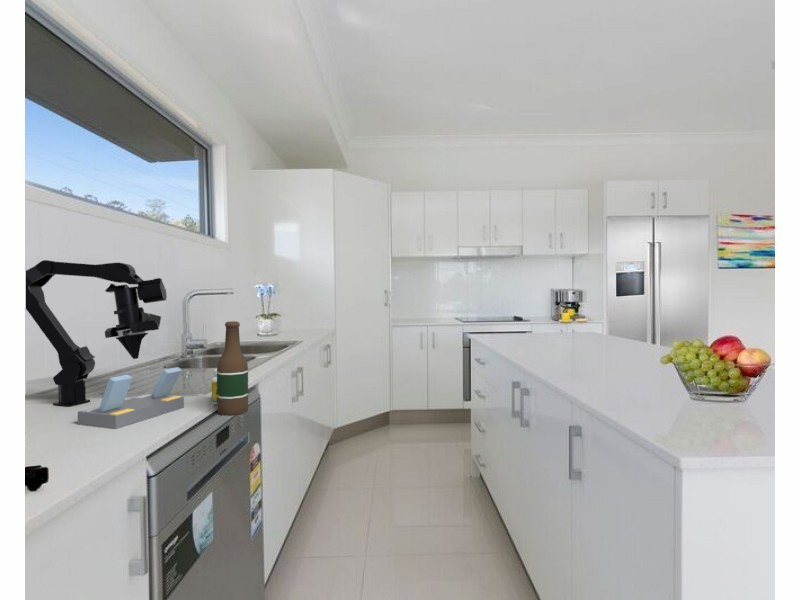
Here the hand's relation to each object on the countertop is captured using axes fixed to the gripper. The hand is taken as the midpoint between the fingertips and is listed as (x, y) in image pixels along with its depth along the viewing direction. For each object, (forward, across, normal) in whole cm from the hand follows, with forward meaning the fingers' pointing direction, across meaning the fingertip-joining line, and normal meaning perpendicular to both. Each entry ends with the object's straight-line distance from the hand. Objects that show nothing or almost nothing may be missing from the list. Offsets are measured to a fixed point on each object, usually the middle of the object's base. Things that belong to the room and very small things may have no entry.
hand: (135, 358), depth 135 cm
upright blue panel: (+10, -17, +17) cm, 26 cm away
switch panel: (+14, -14, +10) cm, 22 cm away
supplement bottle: (+16, -21, -11) cm, 29 cm away
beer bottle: (+18, -32, -6) cm, 37 cm away
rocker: (+10, -14, +2) cm, 17 cm away
